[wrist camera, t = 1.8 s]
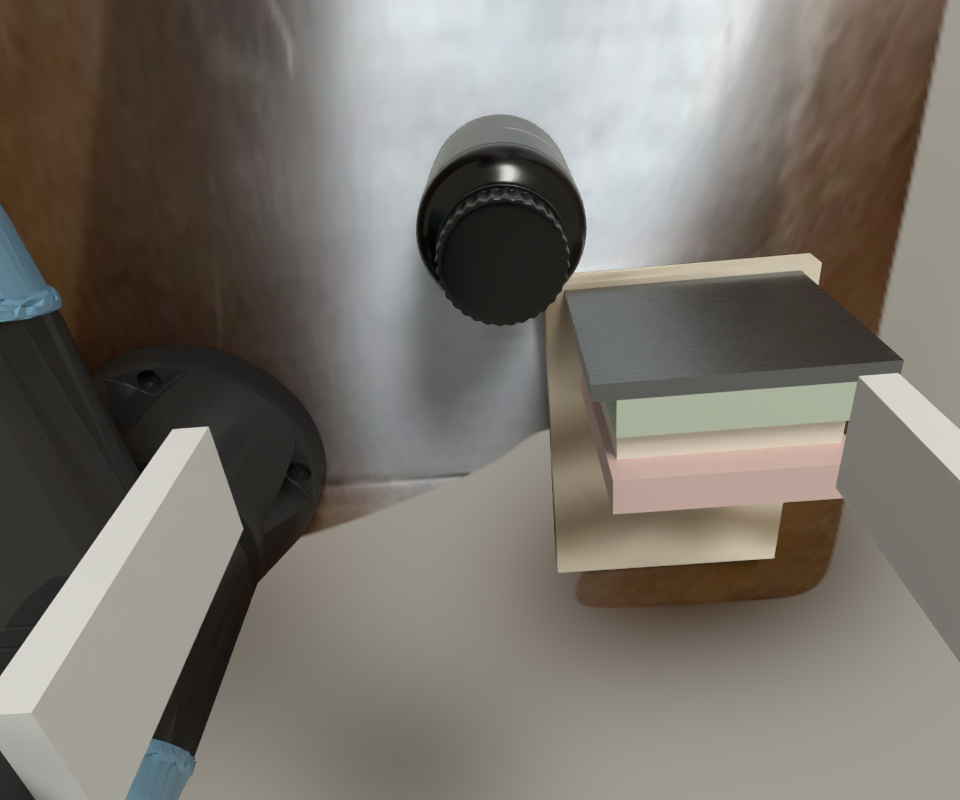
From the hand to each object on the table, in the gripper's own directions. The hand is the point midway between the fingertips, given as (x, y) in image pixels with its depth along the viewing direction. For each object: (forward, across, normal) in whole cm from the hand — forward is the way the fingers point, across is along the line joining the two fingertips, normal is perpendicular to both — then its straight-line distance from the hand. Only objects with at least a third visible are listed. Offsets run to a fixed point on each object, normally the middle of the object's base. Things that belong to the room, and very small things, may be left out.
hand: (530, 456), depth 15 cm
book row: (+22, -9, +9) cm, 25 cm away
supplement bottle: (+24, 0, 0) cm, 24 cm away
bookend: (+22, -9, +6) cm, 24 cm away
